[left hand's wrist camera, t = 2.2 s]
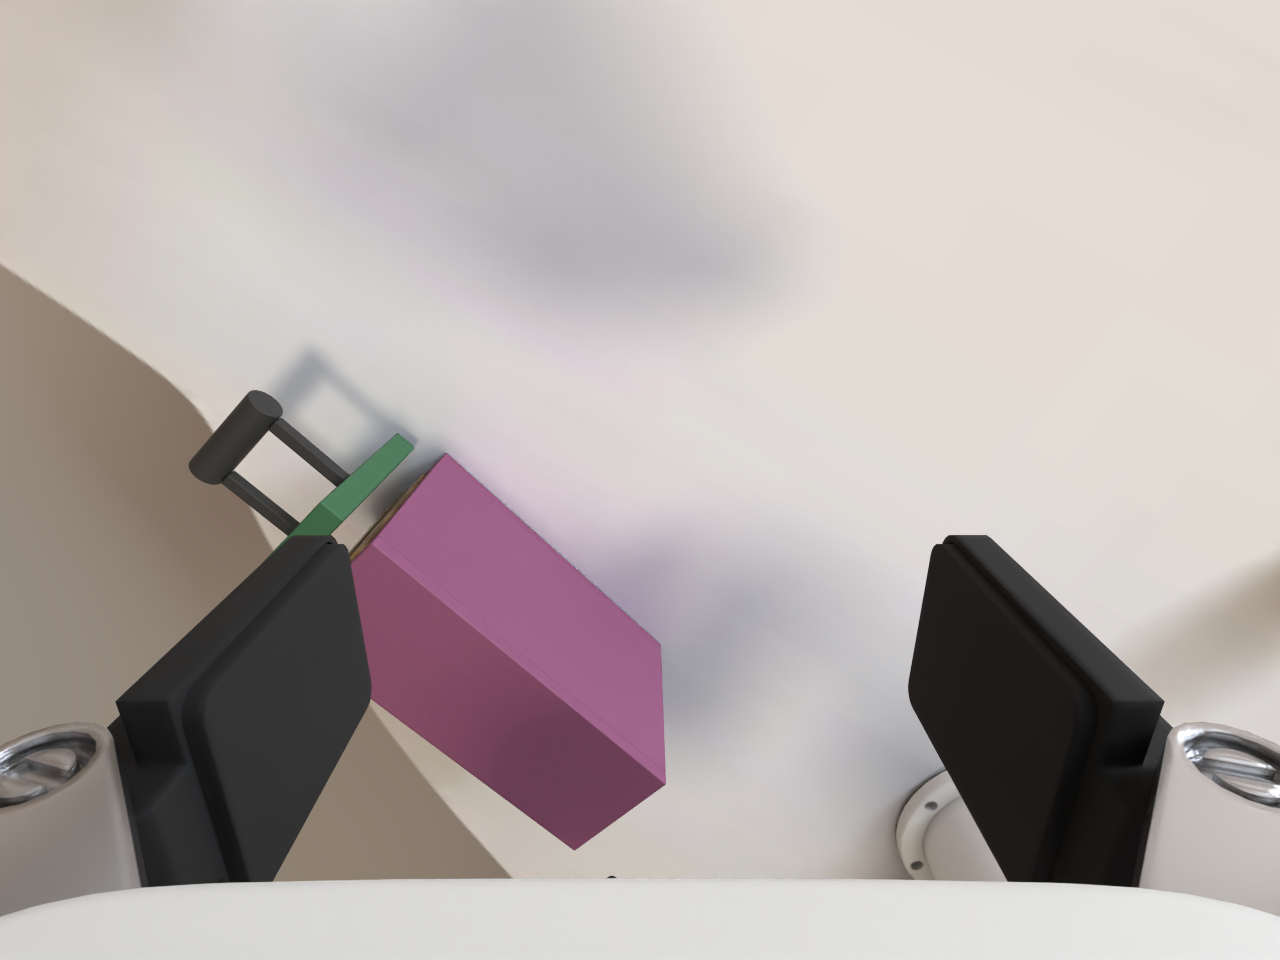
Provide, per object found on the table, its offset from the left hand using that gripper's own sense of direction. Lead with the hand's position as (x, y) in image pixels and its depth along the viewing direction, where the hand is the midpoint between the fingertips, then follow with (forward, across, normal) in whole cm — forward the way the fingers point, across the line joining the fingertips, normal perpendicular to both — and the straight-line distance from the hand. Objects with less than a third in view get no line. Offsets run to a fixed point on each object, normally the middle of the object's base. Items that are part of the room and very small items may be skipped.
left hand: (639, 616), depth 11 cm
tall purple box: (+27, -7, -15) cm, 32 cm away
